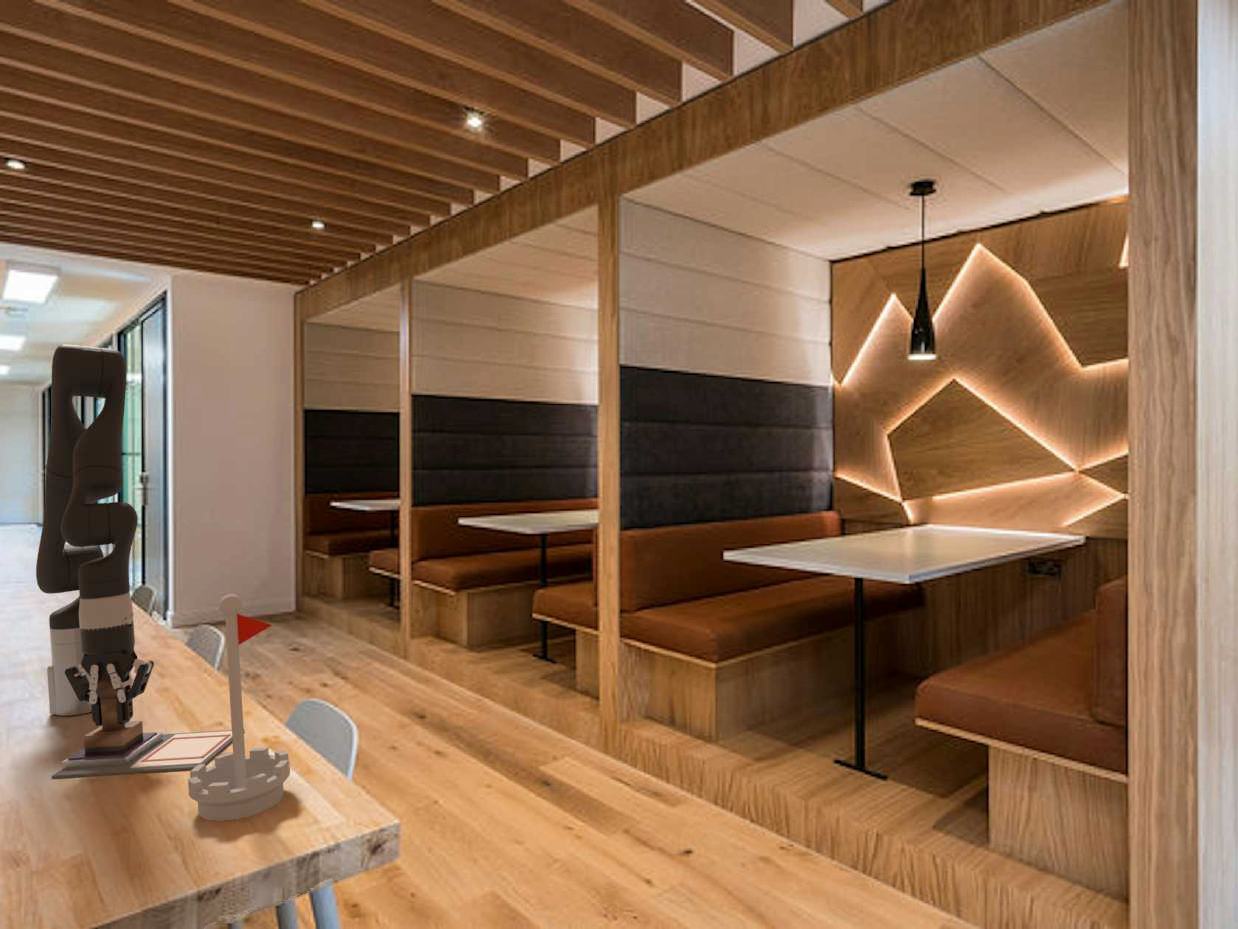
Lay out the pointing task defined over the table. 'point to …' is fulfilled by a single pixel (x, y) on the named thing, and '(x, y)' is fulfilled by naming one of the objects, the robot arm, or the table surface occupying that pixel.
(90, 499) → the robot arm
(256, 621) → the flag stand
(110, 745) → the stamp
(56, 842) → the table surface
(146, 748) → the ink pad
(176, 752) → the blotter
